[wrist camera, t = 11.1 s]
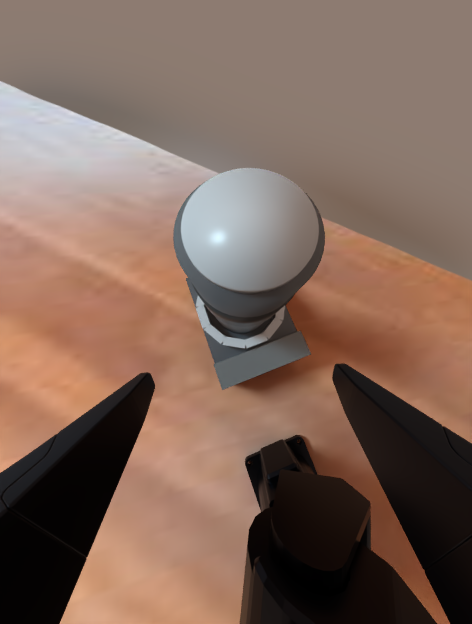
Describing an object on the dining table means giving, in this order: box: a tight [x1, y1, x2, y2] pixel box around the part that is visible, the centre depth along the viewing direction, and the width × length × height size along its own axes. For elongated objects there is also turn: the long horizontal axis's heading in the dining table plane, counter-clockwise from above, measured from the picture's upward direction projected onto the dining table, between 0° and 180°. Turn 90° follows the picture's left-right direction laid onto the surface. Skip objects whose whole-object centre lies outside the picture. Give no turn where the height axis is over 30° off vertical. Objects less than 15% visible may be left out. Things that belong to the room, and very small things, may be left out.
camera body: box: [186, 278, 311, 390], centre depth 19 cm, size 12×9×4 cm
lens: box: [173, 168, 325, 334], centre depth 13 cm, size 6×6×13 cm
